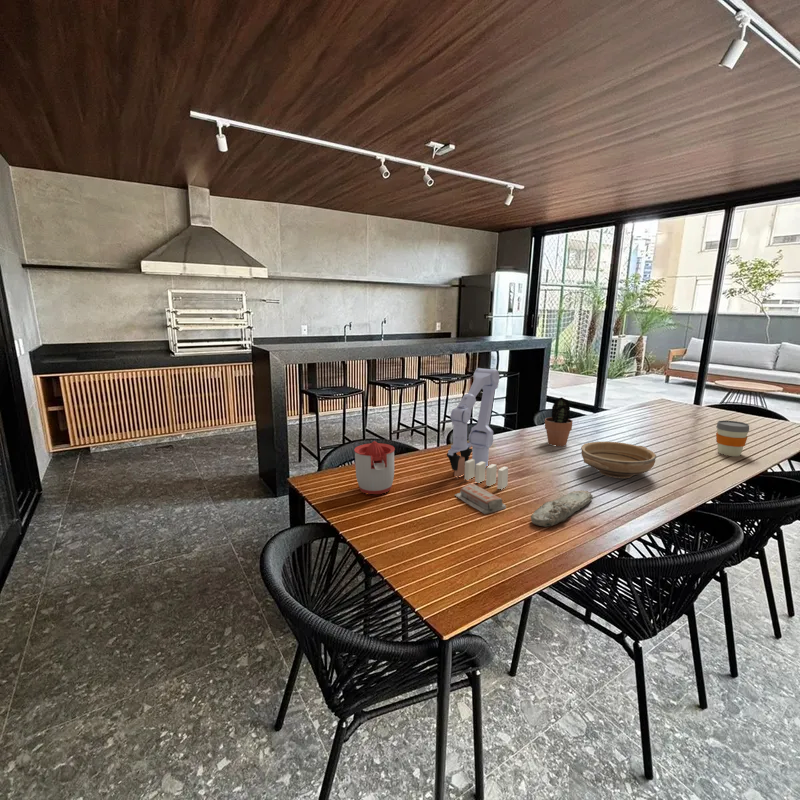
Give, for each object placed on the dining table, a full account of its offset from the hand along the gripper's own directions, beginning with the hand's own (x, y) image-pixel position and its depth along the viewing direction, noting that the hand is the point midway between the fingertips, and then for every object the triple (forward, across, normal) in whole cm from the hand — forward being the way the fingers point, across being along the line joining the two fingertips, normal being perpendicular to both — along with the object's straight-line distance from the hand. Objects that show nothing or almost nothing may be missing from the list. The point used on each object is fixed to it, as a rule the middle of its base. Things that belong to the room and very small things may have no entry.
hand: (459, 467), depth 182 cm
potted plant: (+4, -72, +15) cm, 74 cm away
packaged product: (+5, +17, +20) cm, 27 cm away
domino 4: (+4, 0, +15) cm, 15 cm away
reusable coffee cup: (+4, -108, +85) cm, 138 cm away
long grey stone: (+4, +5, +46) cm, 46 cm away
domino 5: (+4, 0, +20) cm, 20 cm away
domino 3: (+4, 0, +10) cm, 11 cm away
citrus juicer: (+4, +34, -17) cm, 38 cm away
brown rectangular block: (+4, 0, 0) cm, 4 cm away
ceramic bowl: (+4, -45, +50) cm, 67 cm away
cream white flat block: (+4, 0, +5) cm, 6 cm away
